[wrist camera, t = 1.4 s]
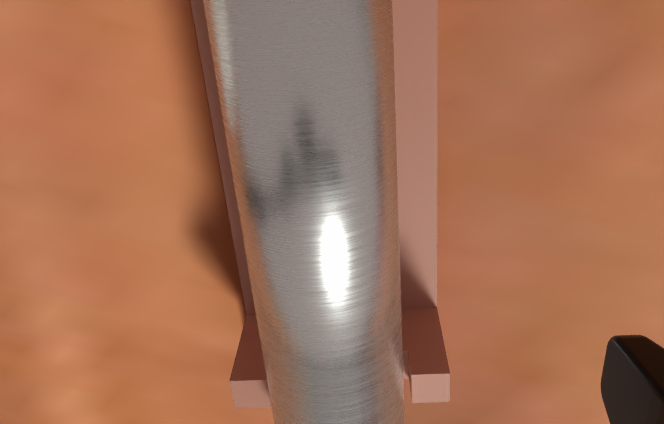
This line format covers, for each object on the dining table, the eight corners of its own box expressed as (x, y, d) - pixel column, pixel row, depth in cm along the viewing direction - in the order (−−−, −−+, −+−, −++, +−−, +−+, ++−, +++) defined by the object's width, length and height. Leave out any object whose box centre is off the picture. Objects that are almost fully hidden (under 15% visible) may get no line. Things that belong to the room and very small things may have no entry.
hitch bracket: (168, -194, 16) (75, -237, 11) (433, -220, 16) (474, -279, 10) (259, 346, 25) (233, 471, 19) (433, 339, 24) (455, 465, 19)
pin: (201, -156, 13) (146, -173, 10) (382, -173, 13) (393, -198, 10) (284, 385, 21) (269, 486, 17) (400, 381, 21) (410, 482, 17)
